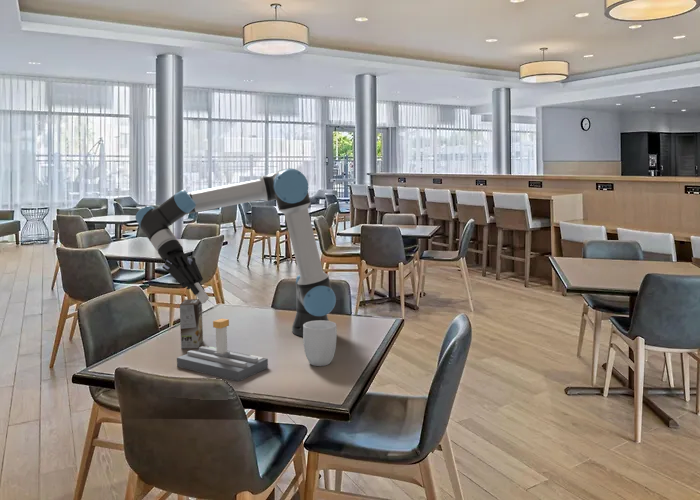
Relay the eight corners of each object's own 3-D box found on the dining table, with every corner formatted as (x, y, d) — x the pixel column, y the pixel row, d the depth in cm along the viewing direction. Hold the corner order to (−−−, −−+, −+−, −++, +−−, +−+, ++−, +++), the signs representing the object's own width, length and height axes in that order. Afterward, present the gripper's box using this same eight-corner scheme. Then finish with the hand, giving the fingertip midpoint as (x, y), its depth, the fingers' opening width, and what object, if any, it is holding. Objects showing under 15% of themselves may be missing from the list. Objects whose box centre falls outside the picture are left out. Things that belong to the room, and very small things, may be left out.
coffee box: (199, 348, 202) (197, 304, 200) (180, 348, 202) (179, 304, 199) (203, 340, 211) (202, 298, 209) (185, 341, 211) (184, 299, 209)
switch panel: (267, 367, 182) (267, 355, 181) (238, 381, 170) (238, 367, 169) (208, 354, 195) (207, 342, 194) (177, 366, 183) (176, 354, 182)
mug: (300, 355, 195) (300, 318, 193) (332, 353, 197) (332, 316, 195) (305, 369, 180) (304, 329, 178) (339, 367, 182) (339, 328, 180)
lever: (231, 356, 182) (230, 319, 181) (222, 359, 179) (221, 322, 177) (221, 354, 184) (220, 318, 183) (213, 357, 181) (211, 320, 179)
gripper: (177, 251, 196) (213, 303, 190) (146, 255, 185) (184, 311, 178) (187, 236, 192) (225, 290, 186) (157, 240, 181) (196, 297, 175)
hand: (205, 300), depth 182 cm, fingers closed
